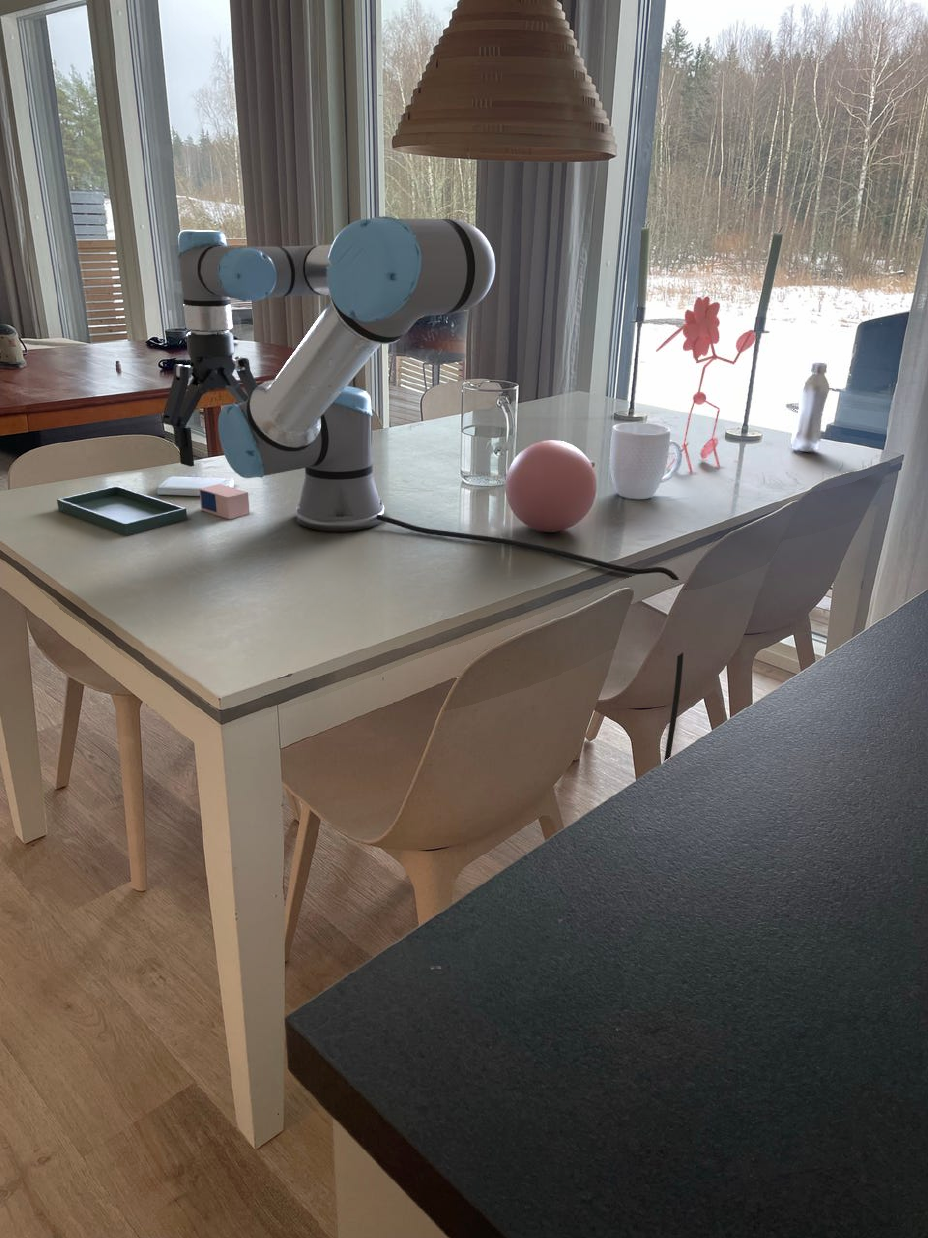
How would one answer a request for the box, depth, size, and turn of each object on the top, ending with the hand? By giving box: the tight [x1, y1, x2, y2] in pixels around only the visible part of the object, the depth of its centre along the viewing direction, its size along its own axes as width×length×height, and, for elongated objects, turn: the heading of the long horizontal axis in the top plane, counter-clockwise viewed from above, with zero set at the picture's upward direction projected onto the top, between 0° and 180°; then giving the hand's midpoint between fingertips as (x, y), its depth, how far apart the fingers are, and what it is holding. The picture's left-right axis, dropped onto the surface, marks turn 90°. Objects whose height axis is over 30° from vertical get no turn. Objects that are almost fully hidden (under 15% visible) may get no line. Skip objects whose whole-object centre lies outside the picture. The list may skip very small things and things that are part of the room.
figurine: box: [655, 295, 757, 474], centre depth 198 cm, size 15×26×35 cm, turn 127°
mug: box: [609, 422, 683, 500], centre depth 179 cm, size 15×11×13 cm
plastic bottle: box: [790, 362, 830, 453], centre depth 214 cm, size 6×7×20 cm
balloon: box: [504, 439, 598, 533], centre depth 159 cm, size 15×20×15 cm
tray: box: [56, 485, 188, 537], centre depth 163 cm, size 21×12×2 cm, turn 51°
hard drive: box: [156, 476, 235, 497], centre depth 178 cm, size 2×8×12 cm
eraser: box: [199, 484, 251, 520], centre depth 165 cm, size 8×5×4 cm, turn 51°
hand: (220, 457), depth 162 cm, fingers open, 13 cm apart
